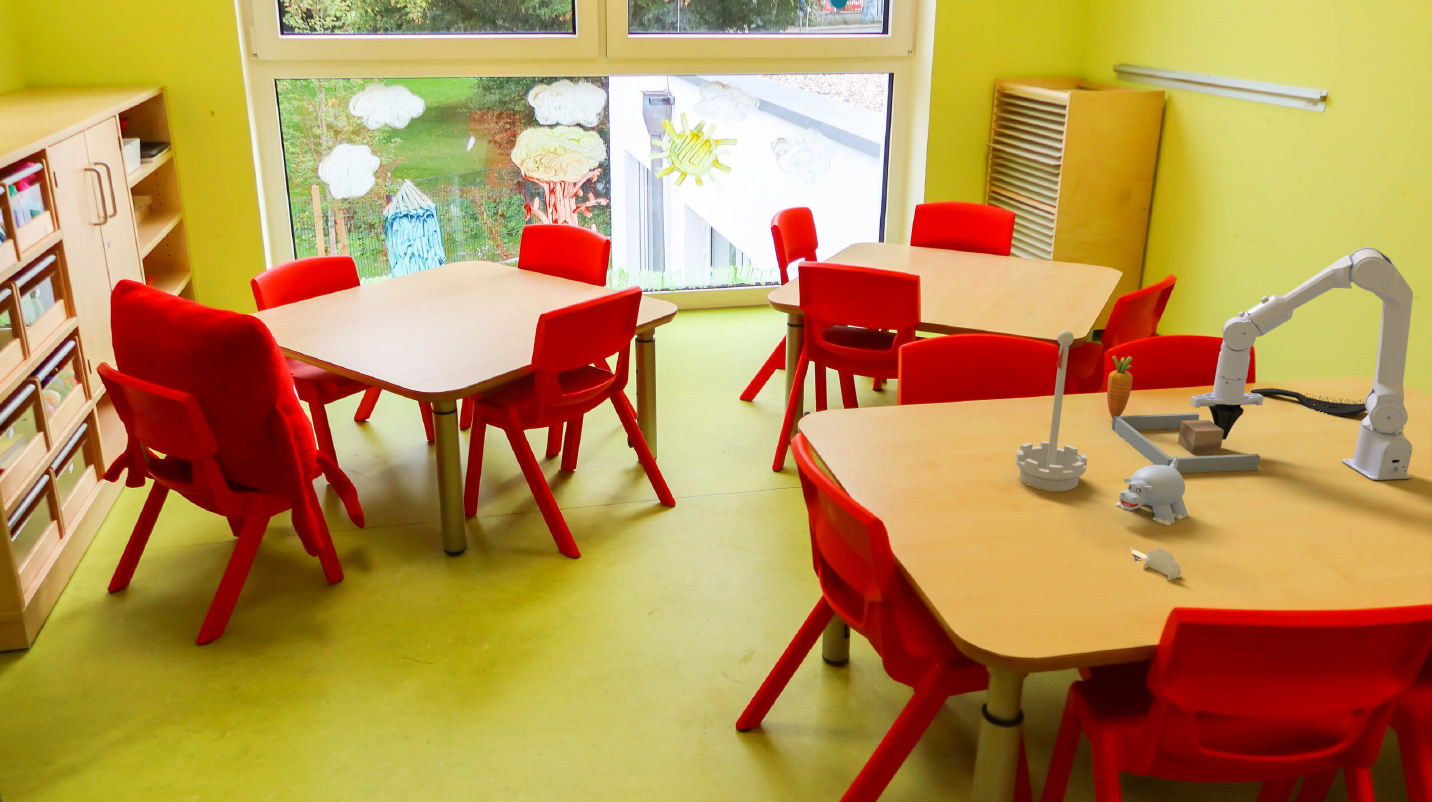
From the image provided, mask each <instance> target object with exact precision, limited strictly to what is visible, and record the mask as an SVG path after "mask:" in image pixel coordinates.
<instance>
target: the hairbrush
mask: <svg viewBox="0 0 1432 802" xmlns="http://www.w3.org/2000/svg"><path fill="white" fill-rule="evenodd" d="M1250 393H1252V394H1260V395H1262V396H1282V397H1288V398H1294V399H1296V400H1298V401H1299V402H1300V403H1301V404H1302V405H1303V406H1305V407H1306V408H1307V407H1308V409H1309V408H1310V409H1311V408H1312V409H1314V410H1313V411H1315V410H1316V411H1315V412H1318V411H1320V412H1319V413H1321V412H1324V413H1323V414H1325V413H1327V414H1326V415H1330V414H1333V415H1335V416H1334V417H1346V416H1352V415H1359V414H1361V413H1363V412H1368V411H1367V410H1366V408H1365V400H1362V399H1360V400H1358V399H1357V400H1356V401H1355V400H1353V401H1351V400H1352V399H1351V398H1350V399H1348V398H1346V400H1344V401H1343V400H1342V398H1338V400H1340V401H1338V400H1337V398H1336V397H1335V398H1334V397H1331V398H1329V397H1327V396H1326V398H1322V399H1321V397H1322V396H1321V395H1319V397H1318V399H1317V397H1314V393H1313V394H1312V397H1311V396H1309V397H1308V394H1309V393H1306V395H1305V394H1303V393H1300V392H1296V391H1291V390H1287V389H1282V388H1274V387H1269V388H1255V389H1252V390H1250ZM1332 399H1333V400H1332ZM1335 399H1336V400H1335ZM1330 400H1331V401H1330ZM1347 401H1348V402H1347ZM1358 402H1359V403H1358ZM1314 404H1315V405H1314ZM1312 409H1311V410H1312ZM1333 415H1332V416H1333Z"/></svg>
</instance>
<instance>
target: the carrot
mask: <svg viewBox="0 0 1432 802" xmlns="http://www.w3.org/2000/svg"><path fill="white" fill-rule="evenodd" d="M1111 358H1112V360H1113V361H1114V364H1115V367H1116V370H1113V371H1111V372H1110V373H1109V375H1108V377H1107V378H1108V379H1107V389H1106V390H1107V391H1106V396H1107V397H1106V399H1107V407H1108V410H1109V411H1108V412H1109V415H1110V416H1111V419H1112V420H1113V417H1114V416H1122V414H1123V413H1124V411H1125V409H1126V407H1127V403H1128V401H1129V398H1130V395H1131V390H1132V385H1133V380H1134V379H1133V375H1132V373H1131V372H1129V371H1127V370H1129V369H1131V367H1132V365H1130V363H1131V362H1132V360H1133V357H1132V356H1127V358H1126V357H1124V356H1123V357H1121V359H1120V361H1119V360H1118V359H1117V357H1116V355H1113V356H1112V357H1111Z"/></svg>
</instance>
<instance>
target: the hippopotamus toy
mask: <svg viewBox="0 0 1432 802" xmlns="http://www.w3.org/2000/svg"><path fill="white" fill-rule="evenodd" d="M1172 456H1173V457H1175V459H1174V460H1173V461H1172V463H1171V465H1170V466H1166V465H1155V464H1152V465H1146V466H1144V467H1141V468H1140V469H1138V470H1136V471H1135V472H1134V473H1133V474H1132V475H1131V477H1130V478H1129V477H1125V478H1124V480H1123V481H1124V483H1128V485H1127V489H1123V490H1122V491H1121V492H1120V493H1119V498H1118V499H1119V502H1117V503H1116V507H1119V508H1121V509H1122V510H1124V511H1125V510H1127V511H1128V512H1129V511H1130V512H1131V511H1134V510H1137V509H1139V508H1141V506H1145V505H1148V506H1151V507H1152V510H1153V513H1154V517H1152V520H1153V521H1154V522H1156V523H1158V524H1162V525H1164V526H1166V527H1167V526H1170V525H1174V524H1175V523H1176V520H1183V519H1185V518H1188V517H1189V515H1188V512H1187V508H1186V505H1185V502H1184V499H1183V496H1184V493H1185V491H1186V484H1185V480H1184V477H1183V476H1182V473H1179V472H1178V471H1177V470H1176V469H1177V466H1178V457H1179V456H1178V455H1176V454H1172ZM1175 519H1176V520H1175Z"/></svg>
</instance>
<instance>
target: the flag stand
mask: <svg viewBox="0 0 1432 802" xmlns="http://www.w3.org/2000/svg"><path fill="white" fill-rule="evenodd" d="M1056 340H1057V342H1058V344H1060V346H1059V355H1058V358H1057V361H1056V362H1055V365H1056V367H1057V371H1056V380H1055V388H1054V396H1053V397H1054V398H1053V404H1052V407H1053V408H1052V414H1051V416H1052V417H1051V423H1050V432H1049V440H1048V441H1047V440H1046V441H1045V440H1041V441H1040V446H1034V444H1033V443H1031V442H1026V443H1023V444H1021V445H1020V448H1019V449H1016V454H1015V465H1016V466H1017V467H1018V468H1019V470H1020V471H1019V479H1020V478H1021V479H1022V480H1023V481H1022V480H1021V479H1020V480H1021V481H1022V483H1024V482H1025V483H1026V484H1025V483H1024V484H1025V485H1027V484H1029V485H1031V486H1033V487H1032V488H1034V487H1035V489H1037V488H1039V489H1038V490H1041V489H1044V490H1043V491H1047V490H1048V492H1049V491H1050V492H1064V491H1065V492H1066V491H1069V490H1073V489H1076V487H1077V486H1078V485H1079V481H1080V476H1083V474H1085V473H1086V471H1087V463H1088V455H1087V454H1086V453H1082V452H1081V453H1079V454H1078V451H1079V450H1078V447H1075V446H1073V445H1069V444H1066V445H1064V448H1060V447H1058V442H1059V433H1060V426H1061V425H1060V424H1061V417H1062V416H1061V415H1062V407H1063V399H1064V391H1065V383H1066V374H1067V364H1068V357H1069V347H1070V346H1071V345H1072V344H1073V342H1074V340H1075V337H1074V334H1073V333H1072V332H1071V331H1070V330H1067V329H1066V330H1061V331H1060V332H1059V333H1058V334H1057V339H1056ZM1029 485H1028V486H1029ZM1031 486H1030V487H1031Z"/></svg>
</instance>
